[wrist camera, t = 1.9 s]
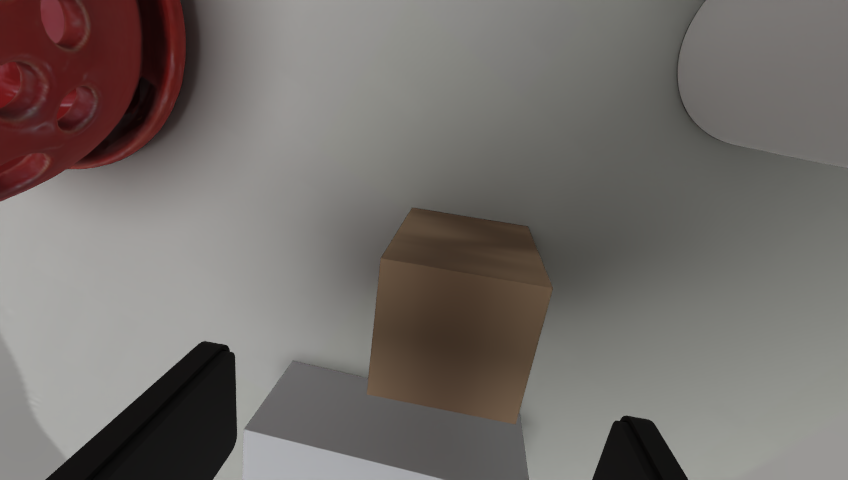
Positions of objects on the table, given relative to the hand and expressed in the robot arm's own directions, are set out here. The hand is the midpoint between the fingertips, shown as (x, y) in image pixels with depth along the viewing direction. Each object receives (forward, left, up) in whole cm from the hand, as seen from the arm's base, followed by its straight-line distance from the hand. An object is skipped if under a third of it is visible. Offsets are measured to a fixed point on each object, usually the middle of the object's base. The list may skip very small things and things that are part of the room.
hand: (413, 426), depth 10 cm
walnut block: (-1, 0, -9) cm, 9 cm away
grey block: (+1, +13, -9) cm, 16 cm away
